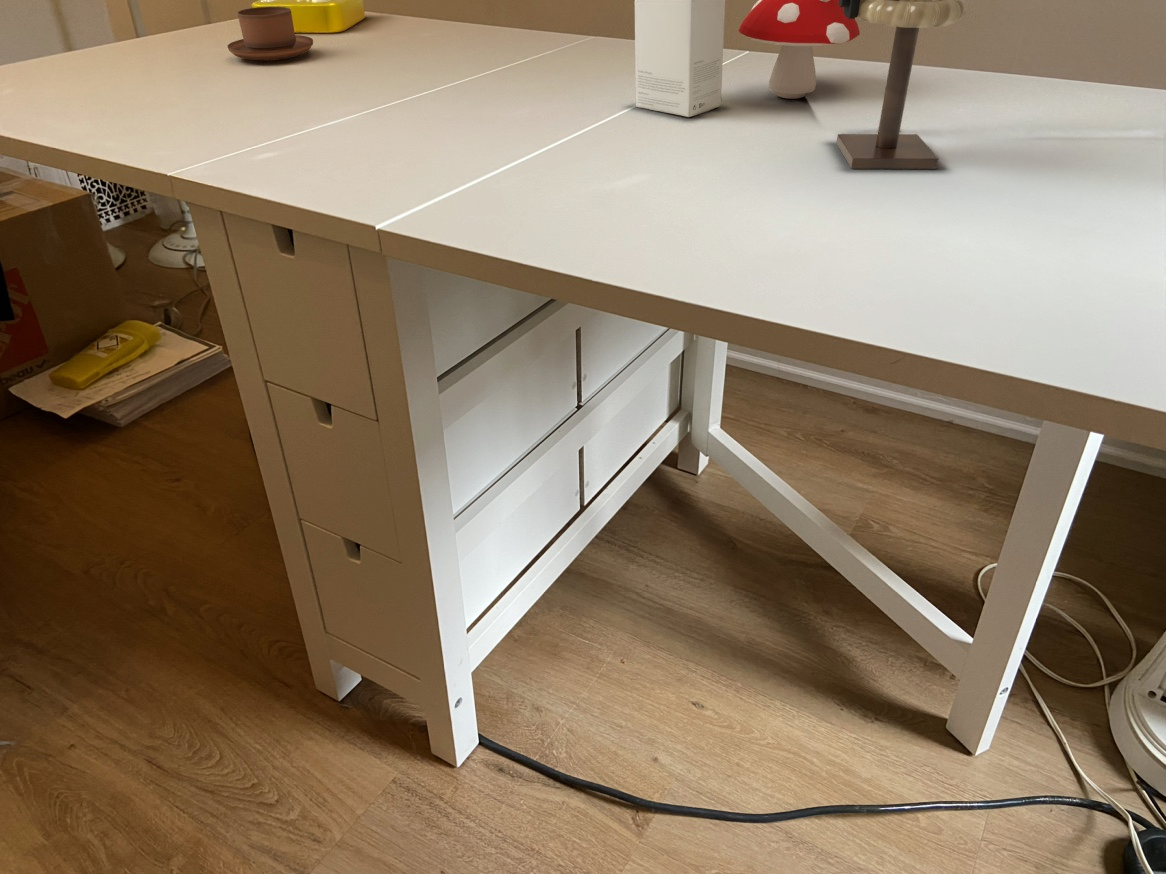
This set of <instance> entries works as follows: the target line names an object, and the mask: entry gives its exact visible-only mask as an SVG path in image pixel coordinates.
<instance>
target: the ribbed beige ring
mask: <svg viewBox="0 0 1166 874" xmlns="http://www.w3.org/2000/svg"><path fill="white" fill-rule="evenodd" d="M967 9H968V4H967V2H966V0H899V1H894V0H860V4H859V11H858V16H857V17H856V18H858V19H859V20H860V21H863V22H867V23H870V24H875V25H877V26H878V25H879V26H888V27H895V28H896V27H905V28H919V29H921V28H922V29H923V28H924V29H925V28H926V29H931V28H938V27H947V26H952V25H954V24H955V23H957V22H958V21H960V20H961V19H962V18H964V16H965V15H966V13H967Z"/></svg>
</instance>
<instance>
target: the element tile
mask: <svg viewBox="0 0 1166 874" xmlns="http://www.w3.org/2000/svg"><path fill="white" fill-rule="evenodd" d="M364 4H365V3H364V0H256V1H253V2H252V3H251V8H256V7H287V8H290V9H291V14H292V20H293V26H294V31H295V34H334V33H342V32H345V31H347V30H348V29H349V28H350V29H351V28H352V27H353V26H355V25H357V24H358V23H360V22H361V21H363V20H364V19H365V18H366V13H365V12H366V11H365V5H364Z"/></svg>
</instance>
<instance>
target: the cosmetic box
mask: <svg viewBox="0 0 1166 874" xmlns="http://www.w3.org/2000/svg"><path fill="white" fill-rule="evenodd" d="M725 11H726V0H634V53H635V54H634V56H635V57H634V58H635V59H634V61H635V63H634V64H635V66H634V67H635V107H636V108H640V109H645V110H650V111H656V112H661V113H666V114H671V115H677V116H682V117H687V118H690V117H694V116H698V115H700V114H704V113H706V112H709V111H711V110H714V109H715V108H716V109H717V108H719V107H720V106H721V105H722V88H723V87H722V86H723V62H724V60H723V59H724V38H725V36H724V35H725V17H726V16H725V13H726V12H725Z"/></svg>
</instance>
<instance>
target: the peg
mask: <svg viewBox="0 0 1166 874" xmlns="http://www.w3.org/2000/svg"><path fill="white" fill-rule="evenodd" d="M919 31H920V28H905V27H895V32H894V39H893V44H892V49H891V54H890V61H889V65H888V72H887V78H886V84H885V89H884V90H885V91H884V94H883V100H882V106H881V111H880V118H879V124H878V128H877V133H838V134H837V135H836V146H837V147H838V149H839V151H840V153H841V154H842V156H843V157H844V159H845V161H846V162H847V164H848V166H849V167H850V170H851V169H852V170H855V169H857V170H870V169H871V170H937V168H938V163H939V158H938V156H937V155H936V154H935V153H934V151H932V150H931V148H930V147H929V146H928V145H927V144H926V143H925V142H924V140H923V139H922V138H921V137H920V136H919V135H918V134H917V133H901V132H900V131H901V127H902V123H903V116H904V111H905V106H906V100H907V94H908V91H909V84H910V78H911V73H912V68H913V65H914V64H913V63H914V58H915V52H916V47H917V43H918V42H917V41H918V36H919Z"/></svg>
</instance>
